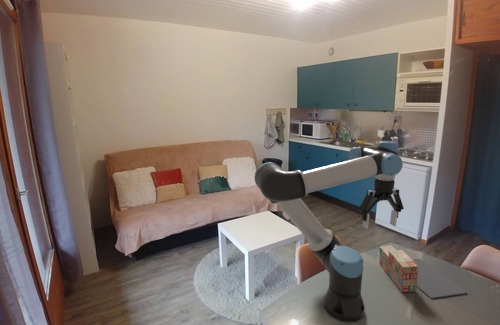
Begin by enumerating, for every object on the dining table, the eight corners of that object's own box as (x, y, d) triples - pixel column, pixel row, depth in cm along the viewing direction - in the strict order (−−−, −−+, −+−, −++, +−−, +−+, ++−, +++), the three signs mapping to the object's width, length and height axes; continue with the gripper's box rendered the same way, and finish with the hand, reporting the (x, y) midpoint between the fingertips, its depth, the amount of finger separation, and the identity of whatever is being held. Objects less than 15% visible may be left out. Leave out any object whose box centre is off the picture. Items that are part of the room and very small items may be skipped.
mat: (430, 299, 110) (431, 297, 110) (388, 263, 135) (388, 262, 135) (466, 293, 113) (467, 292, 113) (419, 259, 138) (419, 258, 138)
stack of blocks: (379, 263, 135) (379, 240, 132) (391, 262, 135) (392, 239, 132) (401, 292, 114) (402, 266, 111) (417, 291, 114) (418, 265, 111)
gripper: (363, 182, 106) (358, 232, 111) (417, 179, 112) (410, 227, 116) (352, 177, 113) (348, 224, 118) (403, 174, 119) (397, 220, 123)
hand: (379, 226), depth 117 cm, fingers open, 13 cm apart
